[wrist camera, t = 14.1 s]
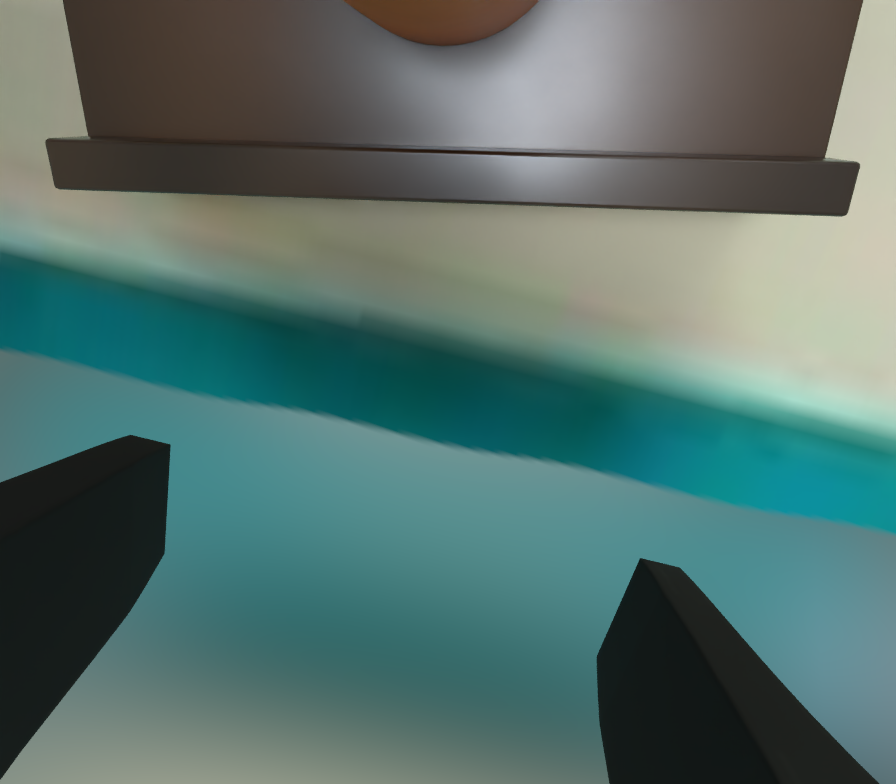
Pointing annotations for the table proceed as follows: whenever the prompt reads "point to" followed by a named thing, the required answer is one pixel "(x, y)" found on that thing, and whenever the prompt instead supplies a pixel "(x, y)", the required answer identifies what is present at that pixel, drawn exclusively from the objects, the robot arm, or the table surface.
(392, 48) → the shelf
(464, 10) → the can
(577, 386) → the table surface
